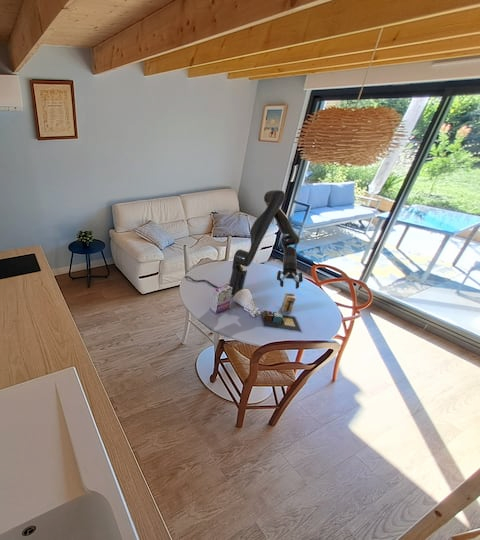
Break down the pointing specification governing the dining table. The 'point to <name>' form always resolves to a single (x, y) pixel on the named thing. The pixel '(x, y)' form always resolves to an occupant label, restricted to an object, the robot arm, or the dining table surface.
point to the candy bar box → (221, 298)
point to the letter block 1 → (267, 316)
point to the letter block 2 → (277, 317)
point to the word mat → (284, 323)
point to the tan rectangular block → (288, 303)
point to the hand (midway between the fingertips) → (289, 287)
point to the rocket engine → (246, 301)
